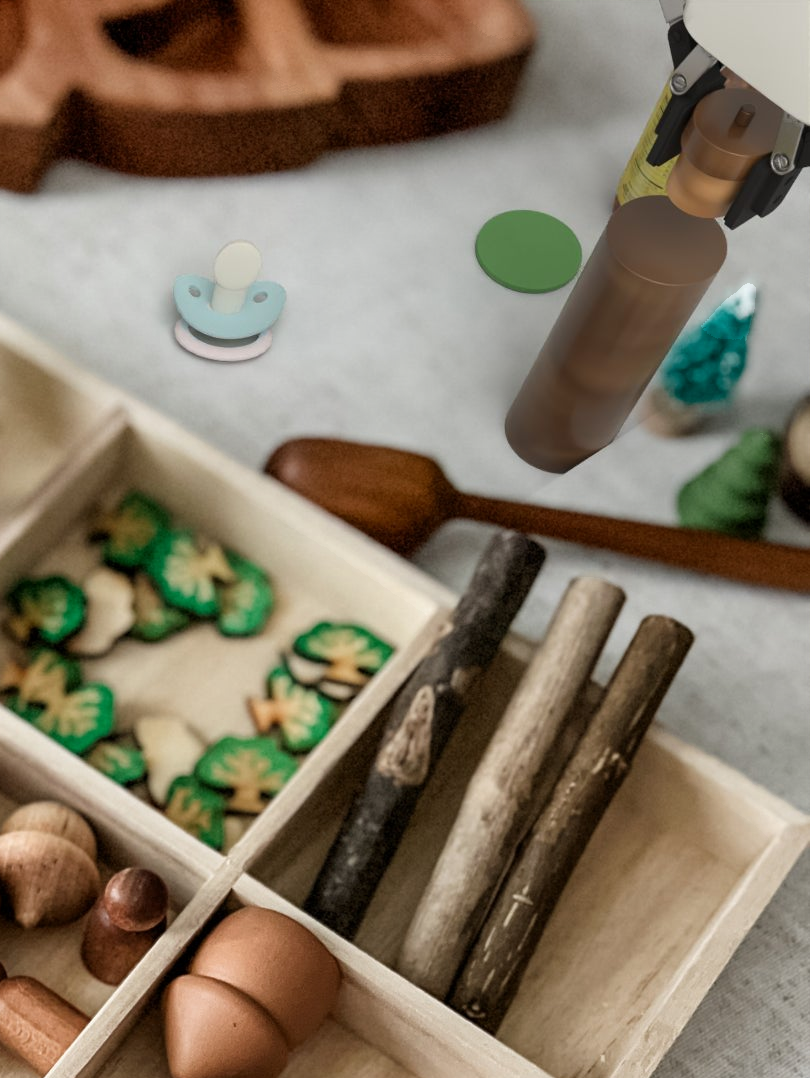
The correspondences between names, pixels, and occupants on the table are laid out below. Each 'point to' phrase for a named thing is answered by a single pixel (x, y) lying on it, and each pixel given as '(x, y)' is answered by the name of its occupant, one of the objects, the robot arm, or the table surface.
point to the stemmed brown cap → (722, 149)
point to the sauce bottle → (638, 172)
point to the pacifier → (228, 304)
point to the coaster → (528, 251)
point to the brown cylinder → (614, 331)
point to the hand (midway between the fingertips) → (708, 181)
